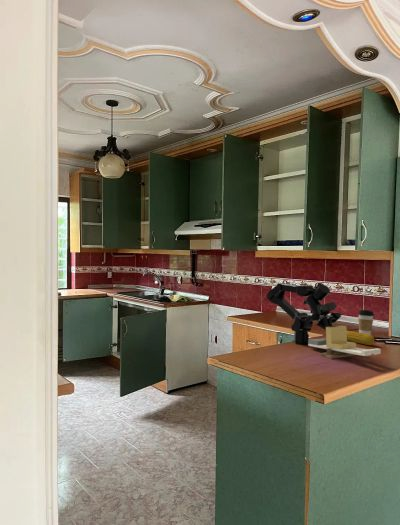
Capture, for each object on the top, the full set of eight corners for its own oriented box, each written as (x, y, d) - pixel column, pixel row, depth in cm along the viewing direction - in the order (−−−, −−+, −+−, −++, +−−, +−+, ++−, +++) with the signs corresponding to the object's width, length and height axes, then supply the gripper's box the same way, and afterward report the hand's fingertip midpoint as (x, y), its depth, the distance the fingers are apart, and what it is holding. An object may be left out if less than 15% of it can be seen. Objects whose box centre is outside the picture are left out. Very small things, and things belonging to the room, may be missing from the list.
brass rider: (326, 348, 174) (325, 326, 175) (341, 346, 179) (341, 325, 180) (340, 350, 167) (339, 328, 168) (356, 348, 172) (355, 327, 173)
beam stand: (320, 355, 173) (320, 347, 173) (345, 352, 181) (345, 344, 181) (330, 358, 168) (331, 351, 168) (355, 355, 176) (356, 347, 176)
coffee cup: (356, 336, 217) (357, 310, 217) (357, 333, 225) (359, 308, 224) (372, 338, 213) (373, 311, 213) (373, 335, 221) (374, 310, 220)
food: (375, 346, 197) (375, 334, 197) (369, 347, 194) (369, 335, 193) (339, 337, 214) (340, 326, 214) (333, 338, 211) (333, 327, 211)
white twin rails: (308, 345, 184) (308, 339, 184) (323, 344, 189) (323, 337, 189) (364, 356, 156) (364, 348, 157) (380, 353, 161) (380, 346, 161)
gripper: (310, 296, 178) (327, 324, 168) (339, 295, 186) (357, 322, 177) (298, 310, 185) (313, 338, 175) (326, 309, 194) (342, 335, 184)
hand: (332, 333), depth 178 cm, fingers closed
